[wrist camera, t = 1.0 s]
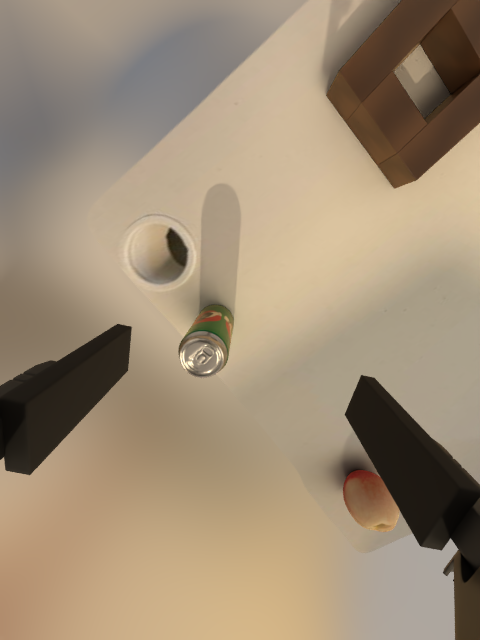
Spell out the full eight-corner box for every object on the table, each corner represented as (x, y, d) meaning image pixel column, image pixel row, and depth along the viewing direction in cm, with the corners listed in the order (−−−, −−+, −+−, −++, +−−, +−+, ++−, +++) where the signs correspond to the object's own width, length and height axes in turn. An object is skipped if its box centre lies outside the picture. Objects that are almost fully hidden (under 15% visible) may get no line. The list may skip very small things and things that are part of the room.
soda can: (191, 322, 35) (165, 361, 23) (213, 296, 34) (196, 323, 22) (219, 343, 36) (206, 390, 24) (241, 318, 35) (238, 355, 23)
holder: (325, 95, 26) (339, 70, 23) (431, -23, 23) (467, -74, 20) (394, 188, 29) (416, 180, 25) (497, 93, 26) (540, 67, 22)
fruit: (334, 493, 44) (352, 545, 37) (338, 459, 42) (359, 508, 34) (378, 493, 44) (406, 546, 36) (385, 459, 42) (416, 508, 34)
